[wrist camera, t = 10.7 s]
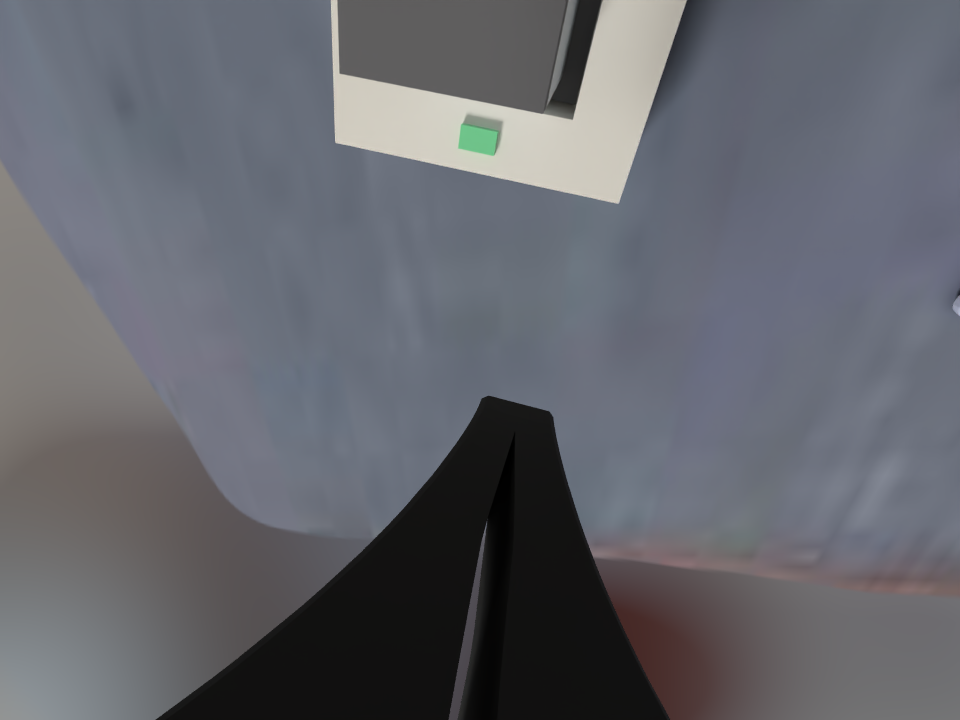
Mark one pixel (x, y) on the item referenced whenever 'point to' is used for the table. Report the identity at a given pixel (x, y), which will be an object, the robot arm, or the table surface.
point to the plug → (460, 46)
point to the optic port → (523, 134)
